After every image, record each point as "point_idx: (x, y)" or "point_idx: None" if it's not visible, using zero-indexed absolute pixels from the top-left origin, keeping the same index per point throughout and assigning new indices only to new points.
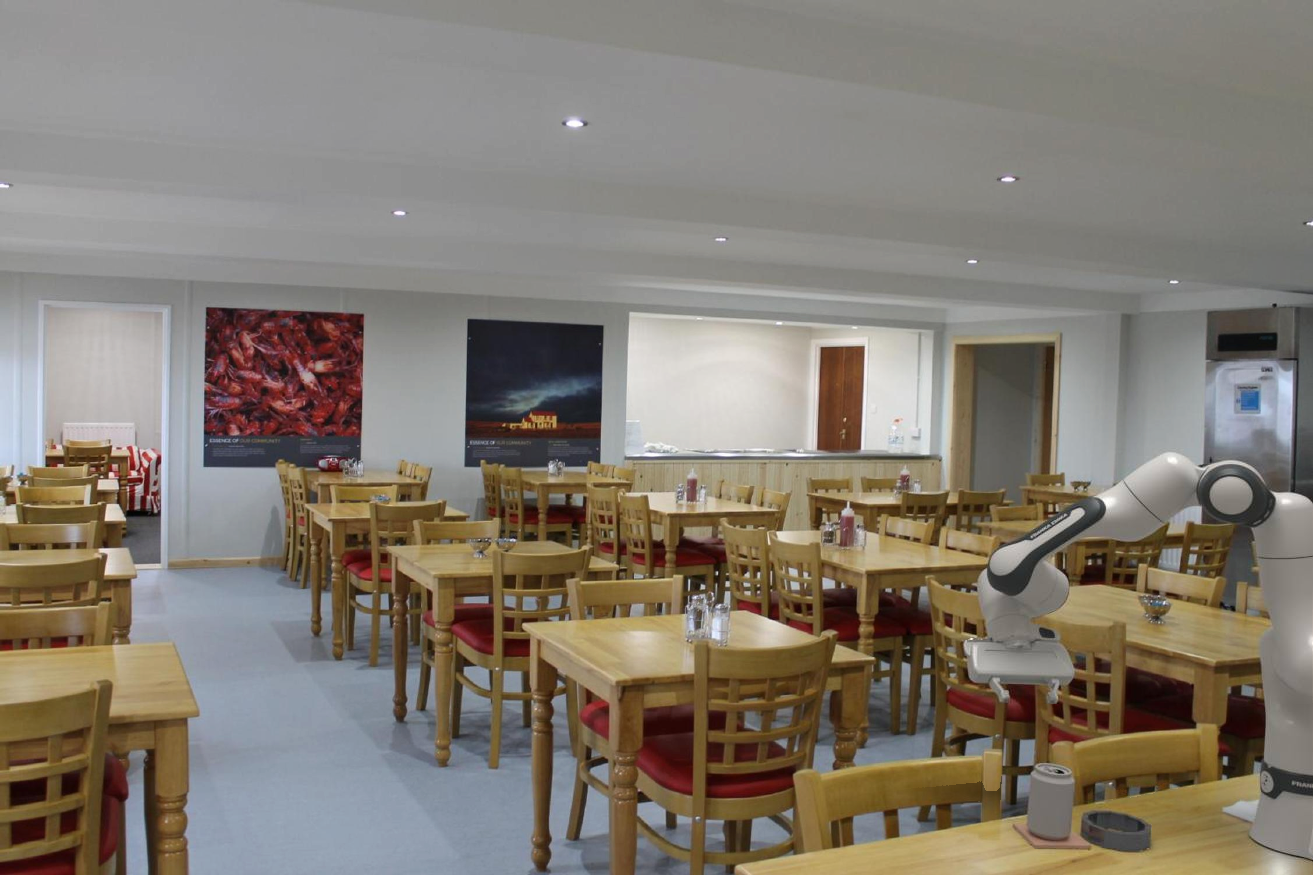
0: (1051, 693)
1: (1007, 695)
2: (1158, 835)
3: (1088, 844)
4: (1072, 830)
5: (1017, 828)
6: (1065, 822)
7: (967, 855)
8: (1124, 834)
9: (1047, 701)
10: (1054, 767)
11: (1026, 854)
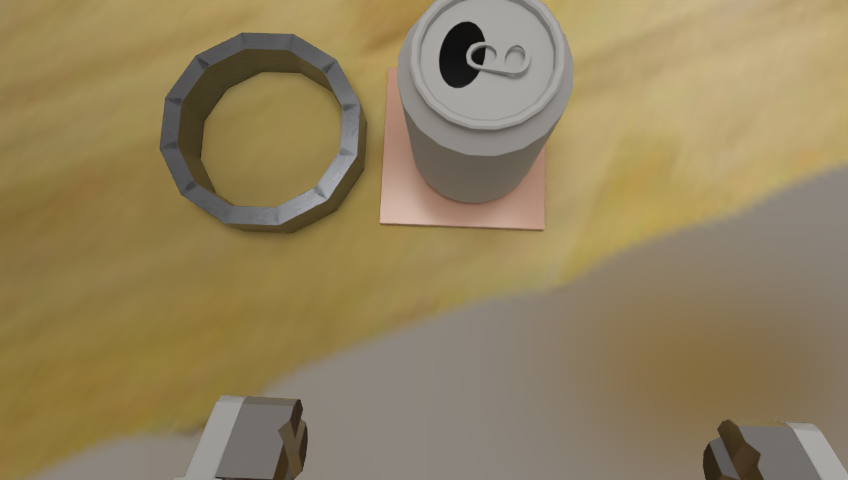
0: (259, 450)
1: (768, 441)
2: (133, 165)
3: (390, 75)
4: (384, 174)
5: (544, 195)
6: (453, 67)
7: (753, 31)
8: (291, 34)
9: (302, 467)
10: (454, 111)
11: (586, 37)
